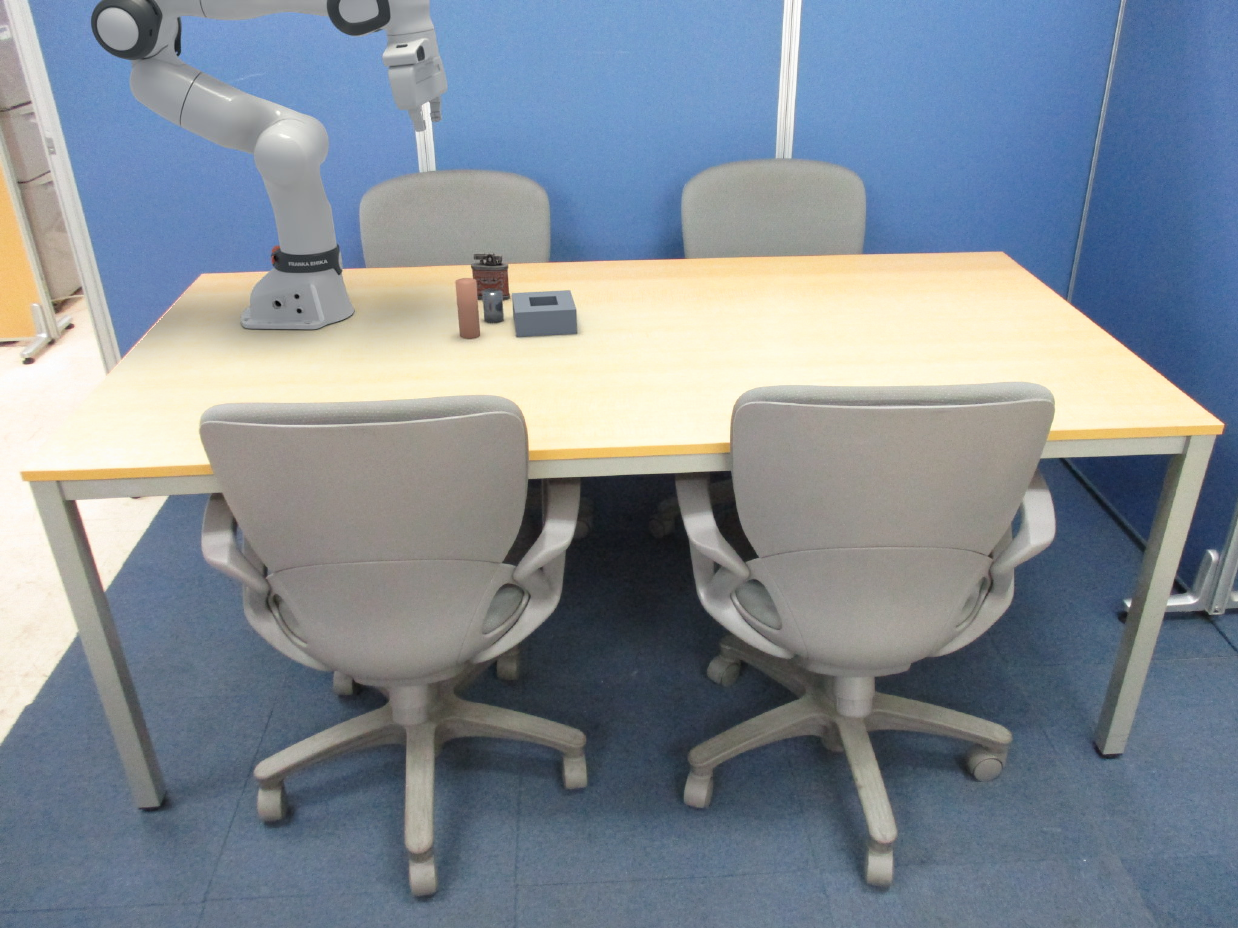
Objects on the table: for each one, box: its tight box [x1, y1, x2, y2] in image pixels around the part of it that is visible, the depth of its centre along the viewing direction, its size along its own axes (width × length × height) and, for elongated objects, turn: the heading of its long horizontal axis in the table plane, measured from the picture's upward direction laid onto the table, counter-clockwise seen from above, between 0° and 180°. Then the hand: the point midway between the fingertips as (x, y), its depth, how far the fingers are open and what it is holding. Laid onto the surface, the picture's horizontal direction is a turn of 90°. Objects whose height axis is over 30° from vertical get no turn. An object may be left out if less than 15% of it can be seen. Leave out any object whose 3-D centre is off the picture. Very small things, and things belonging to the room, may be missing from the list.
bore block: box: [511, 289, 578, 338], centre depth 199 cm, size 12×12×5 cm
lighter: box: [470, 251, 511, 301], centre depth 213 cm, size 8×3×10 cm, turn 84°
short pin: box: [482, 289, 505, 324], centre depth 201 cm, size 4×4×6 cm
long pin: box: [454, 277, 481, 340], centre depth 193 cm, size 4×4×11 cm
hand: (429, 126), depth 190 cm, fingers open, 8 cm apart
